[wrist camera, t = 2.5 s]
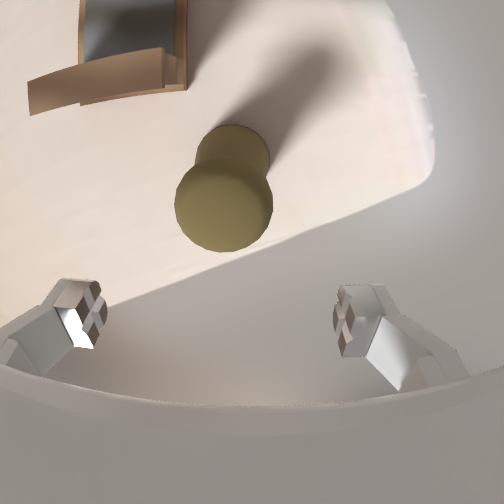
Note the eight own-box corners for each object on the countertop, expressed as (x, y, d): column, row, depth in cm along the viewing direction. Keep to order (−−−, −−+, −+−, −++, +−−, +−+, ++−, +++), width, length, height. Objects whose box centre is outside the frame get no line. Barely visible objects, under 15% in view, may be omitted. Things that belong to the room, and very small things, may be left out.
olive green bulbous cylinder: (285, 157, 23) (310, 213, 14) (236, 208, 26) (229, 289, 16) (228, 109, 21) (211, 129, 12) (181, 165, 24) (137, 225, 14)
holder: (88, -32, 13) (40, -55, 6) (193, -56, 13) (172, -100, 6) (85, 104, 20) (30, 120, 14) (189, 90, 20) (162, 93, 14)
